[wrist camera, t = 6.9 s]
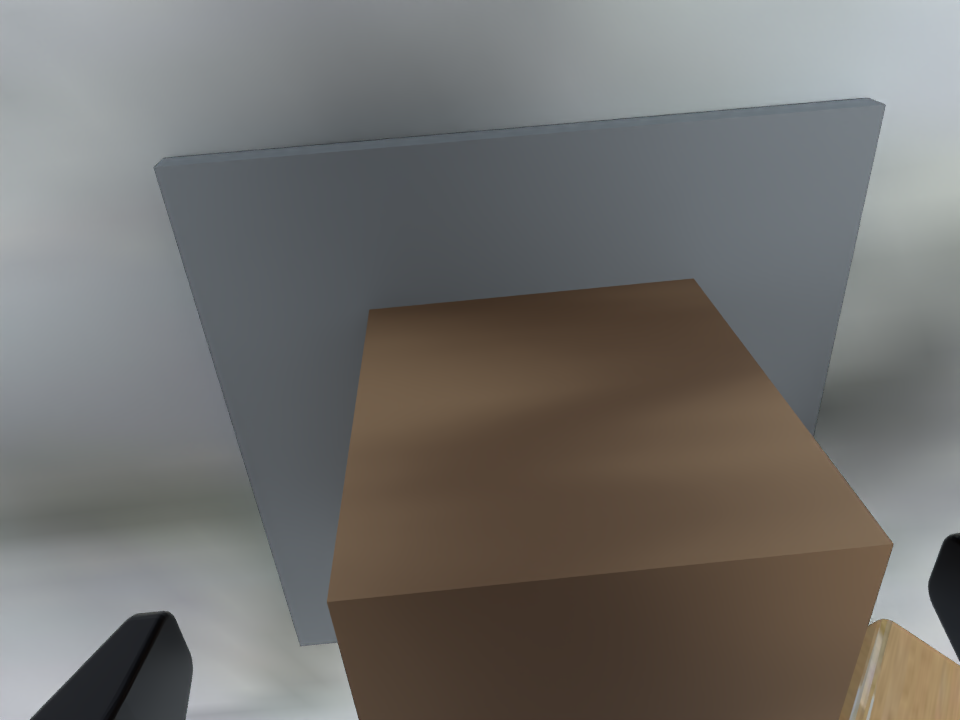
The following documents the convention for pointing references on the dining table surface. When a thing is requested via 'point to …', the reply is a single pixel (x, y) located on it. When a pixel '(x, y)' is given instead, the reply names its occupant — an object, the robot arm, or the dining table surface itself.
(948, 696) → the sandwich container
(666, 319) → the walnut block
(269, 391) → the felt pad
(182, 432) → the dining table surface
